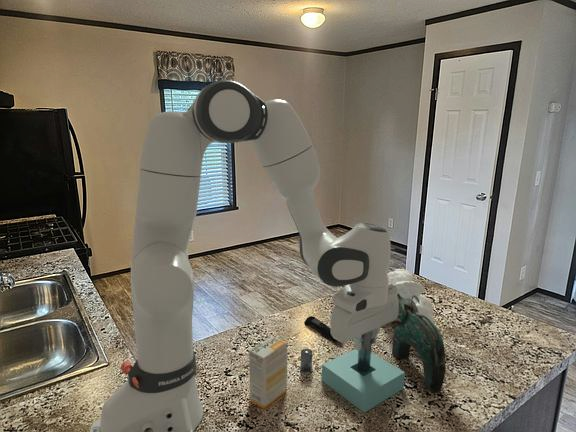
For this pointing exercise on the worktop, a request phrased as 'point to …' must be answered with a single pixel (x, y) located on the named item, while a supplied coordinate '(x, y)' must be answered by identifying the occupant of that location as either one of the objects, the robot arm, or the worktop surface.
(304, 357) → the short pin
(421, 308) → the white lumpy sculpture
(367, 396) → the hole block
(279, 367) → the supplement box
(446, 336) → the worktop surface
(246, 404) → the worktop surface
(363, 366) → the long pin
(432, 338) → the ceramic cat
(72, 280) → the worktop surface
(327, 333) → the electric trimmer
